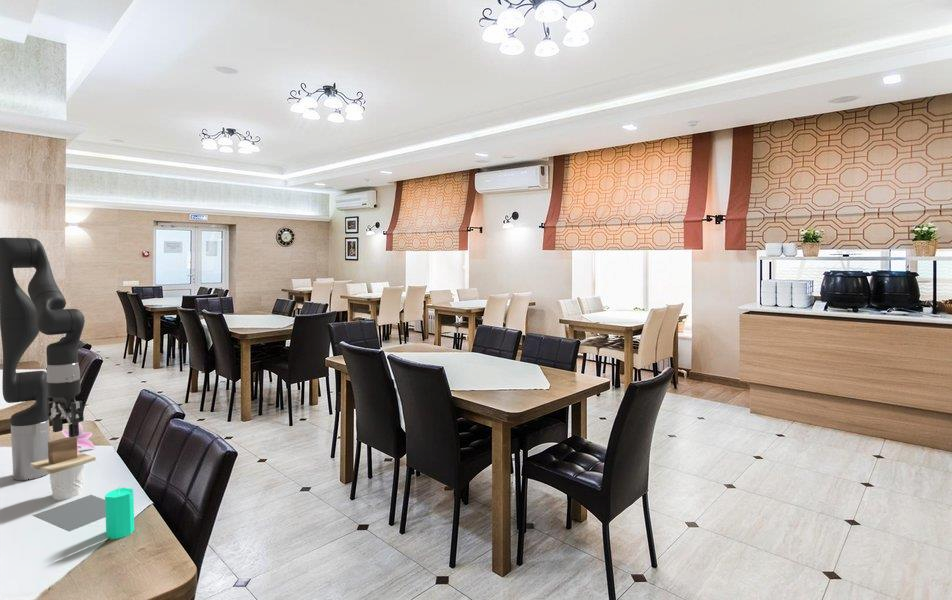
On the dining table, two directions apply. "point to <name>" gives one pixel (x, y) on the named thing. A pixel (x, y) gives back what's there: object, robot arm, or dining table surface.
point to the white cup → (67, 483)
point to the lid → (62, 456)
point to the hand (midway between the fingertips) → (65, 433)
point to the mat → (75, 513)
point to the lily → (81, 438)
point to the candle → (119, 513)
